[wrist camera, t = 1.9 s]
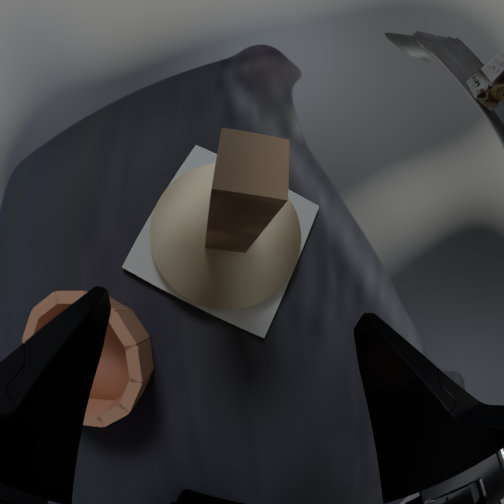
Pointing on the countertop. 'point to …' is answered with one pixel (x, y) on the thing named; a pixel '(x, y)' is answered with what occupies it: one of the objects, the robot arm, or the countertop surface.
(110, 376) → the bowl
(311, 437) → the countertop surface
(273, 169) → the lid
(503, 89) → the coffee box
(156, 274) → the mat
